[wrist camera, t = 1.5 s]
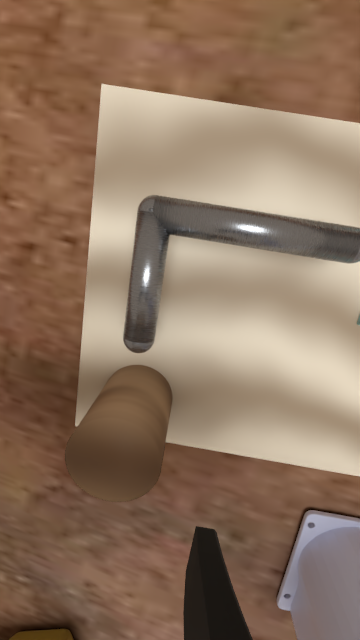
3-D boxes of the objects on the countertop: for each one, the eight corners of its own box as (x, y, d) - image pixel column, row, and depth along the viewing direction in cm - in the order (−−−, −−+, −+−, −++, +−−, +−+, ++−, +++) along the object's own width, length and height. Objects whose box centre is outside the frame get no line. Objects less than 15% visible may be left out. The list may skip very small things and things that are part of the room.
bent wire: (306, 362, 18) (334, 392, 14) (134, 332, 18) (117, 355, 15) (343, 232, 16) (386, 229, 12) (150, 202, 16) (136, 189, 13)
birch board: (449, 482, 20) (462, 494, 20) (80, 417, 21) (74, 426, 20) (596, 168, 16) (622, 163, 15) (107, 93, 16) (101, 83, 15)
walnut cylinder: (167, 431, 20) (154, 509, 14) (102, 420, 20) (62, 492, 14) (177, 371, 19) (167, 428, 13) (108, 359, 19) (68, 410, 13)
